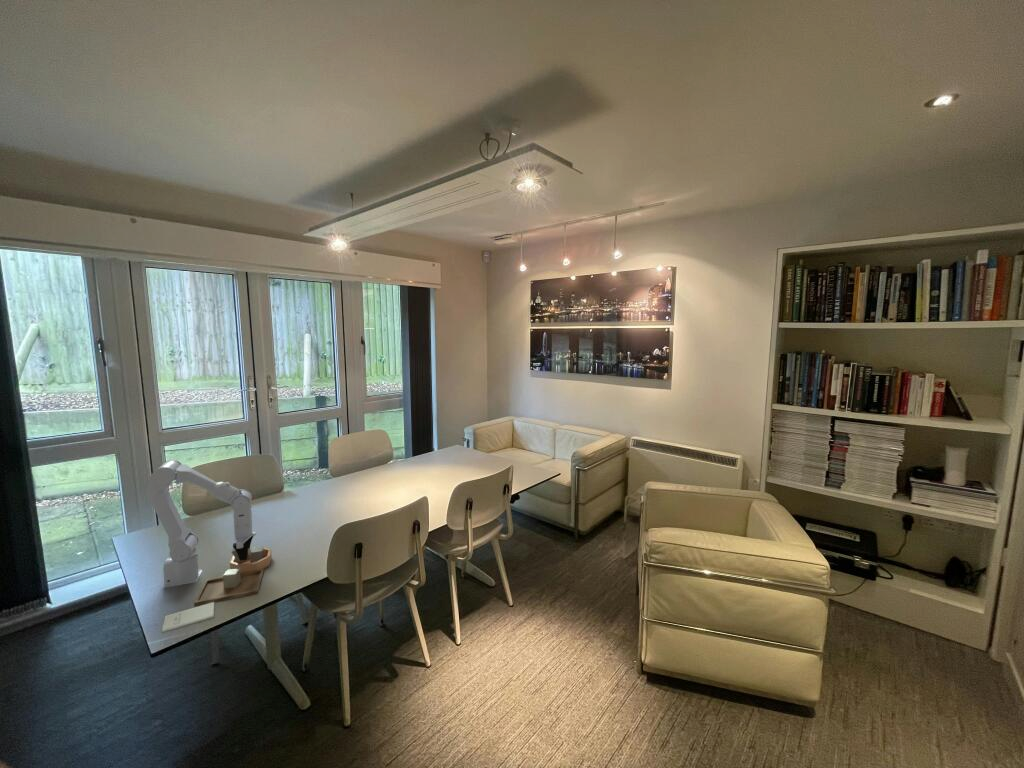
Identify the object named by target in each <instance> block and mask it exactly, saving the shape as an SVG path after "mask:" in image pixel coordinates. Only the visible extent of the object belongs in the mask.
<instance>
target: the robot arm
mask: <svg viewBox="0 0 1024 768" xmlns="http://www.w3.org/2000/svg"><path fill="white" fill-rule="evenodd" d="M173 481H174V484H181V483H186V482H188V483H190V484H193V485H195V486H197V487H199V488H202V489H205V490H207V491H209V492H210V494H211V496H212V497H214V498H216V499H218V500H219V501H222V502H225V503H227V504H229V505H230V507H231V508H232V509H233V514H232V515H233V534H234V535H233V540H234V543H233V544H232V549H233V548H234V549H235V550H236V552H237V554H238V557H239V559H240V561H242V560H246V559H247V556H248V549H251V544H252V541H253V538H254V536H256V535H257V532H256V531H253V517H252V514H253V512H252V504H251V502H252V500H253V499H252V498H253V495H252V493H251V492H250V491H249V490H248V489H242V488H238V487H235V486H233V485H231V483H230V482H229V481H226V482H224V481H219V482H217V481H215V480H213V479H212V478H209V477H207V476H206V475H204V474H202V473H201V472H199V471H197V470H195V469H194V468H192V467H191V466H190V465H188V464H185V463H182V462H180V461H179V460H176V459H170V460H169V459H168V460H166V461H164V462H163V464H162V465H160V467H159V466H158V468H156V469H155V470H154V471H153V472H152V473H151V475H149V477H148V484H147V488H146V492H145V493H146V496H147V497H148V498H147V499H148V500H149V502H150V504H151V505H152V507H153V510H154V511H155V513H156V515H157V517H158V519H159V521H160V523H161V525H162V527H163V529H164V531H165V533H166V534H167V536H168V541H167V543H168V548H169V557H167V558H166V559H165V561H164V563H163V568H162V569H163V589H164V588H171V587H176V586H181V585H188V584H193V583H197V582H198V580H199V579H200V577H201V574H202V573H203V569H199V556H198V555H199V554H198V550H197V548H196V546H197V545H198V544H199V541H200V540H199V537H198V535H196V533H194V532H193V531H192V530H191V528H189V527H186V524H185V522H184V520H183V518H182V516H181V515H180V513H179V511H178V507H176V505H175V503H174V501H173V498H172V496H171V495H170V493H169V491H168V489H169V488H170V486H171V485H172V483H173Z"/></svg>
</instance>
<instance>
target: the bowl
mask: <svg viewBox="0 0 1024 768" xmlns="http://www.w3.org/2000/svg"><path fill="white" fill-rule="evenodd" d="M252 548H253V547H250V550H251V549H252ZM232 555H233V554H232ZM272 558H273V557H272V549H270V548H268V547H264V558H263V559H261V560H259V561H257V562H254V563H250V557H248V558H247V559H246V560H242V561H240V562H238V561H237V559H236V558H235V556H234V555H233V556H232V558H231V559H230V562H229V569H240V574H241V573H247V572H253V571H258V570H264V569H265V568H267V567H268V566H270V565H271V561H272Z"/></svg>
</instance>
